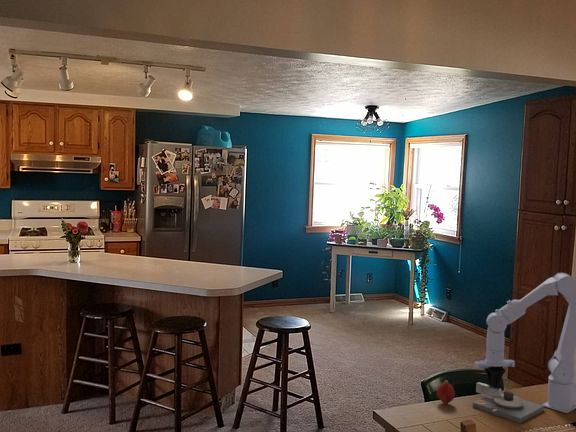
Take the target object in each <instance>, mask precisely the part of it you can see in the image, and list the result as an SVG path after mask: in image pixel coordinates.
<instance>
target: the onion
mask: <svg viewBox="0 0 576 432" xmlns="http://www.w3.org/2000/svg"><path fill="white" fill-rule="evenodd" d="M436 396H437V398H438V400H440V401H441V402H442V403H443V404H444V405H448V404H450V402H452V401H453V400H454V399H455V397H456V391H455V389H454V387H453V385H451V383H449V381H448V380H446V379H445V380H444V382H442V383H441V384H439V385H438V387H437V389H436Z"/></svg>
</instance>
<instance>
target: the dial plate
mask: <svg viewBox="0 0 576 432" xmlns="http://www.w3.org/2000/svg"><path fill="white" fill-rule="evenodd" d="M501 394H504V392H501ZM521 399H522V398H521ZM522 400H523V407H522V408H520V409H508V408H504V407H500V406H498V405H496V404H495V403H494V397H490V396H487V395H485V397H484V396H483V397H482V398H479V399H478V400H475V401H473V402H472V408H474V409H477V410H480V411H483V412H486V413H489V414H492V415H495V416H498V417H501V418H505V419H507V420H508V421H512V422H515V423H519V424H521V423H523V422H525V421H527V420H529V419H530V418H532V417H534V416H536V415H539V414H540V413H542V412H544V411H545V406H543V405H542V404H540V403H536V402H532V401H529V400H525V399H522Z"/></svg>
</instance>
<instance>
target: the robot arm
mask: <svg viewBox="0 0 576 432" xmlns="http://www.w3.org/2000/svg"><path fill="white" fill-rule="evenodd" d="M559 293H560V294H561V295H563V296H562V297H563V298H564V299H565V300H566V301H567V303H568V307H567V310H566V315H565V318H564V322H563V326H562V329H561V333H560V337H559V340H558V345H557V349H556V350H555V351H554V353H553V355H552V357H551V358H550V360H549V361H548V364H547V367H548V370H549V371H550V374H549V376H548V381H547V382H548V383H547V386H548V387H547V401H546V402H544V403H543V404H541V405H543V406H544V408H548V409H551V410H555V411H558V412H562V413H564V414H569V413H570V412H572V411H575V409H576V383H575V381H574V379H575V375H576V373H575V370H574V367H575V353H576V352H575V351H576V278H574V277H573V276H571V275H570V274H568V273H566V272H557V273H556V274H554V276H553V277H551V276H550V277H549V278H547V279H546V280H545V281H543V282H542V283H540V285H538V286H537V287H535V288H534V289H533V290H531V291H530V292H529V293H527V294H526V295H524V297H522V298H521V299H512V300H510V299H508V301H506V303H507V304H505V305H503V306H501V307H500V308H499V309H498V308H497V309H495V310H494V312H491V313H489V314H488V315H487V318H486V319H485V322H486V325H487V330H486V341H485V342H486V344H485V346H486V347H485V348H486V349H485V351H486V352H485V359H483V360H479V361H474V362H473V368H474V369H477V370H481V369H483V370H484V371H485V374H486V376H487V378H488V383H489V385H490V386H494V387H497V388H499V385H500V381H501V379H502V377H503V376H504V374H505V373H506V369H505V367H512V368H515V367H516V361H515V360H513V359H505V340H506V339H505V337H506V336H505V331H506V329H507V327H508V325H511V324H512V323H513V322H515V321H516V320H518V319H519V318H521V317H522V316H524V315H525V314H526V310H527V308H529V307H530V306H533V305H534V304H535V303H537V302H538V301H540V300H542V299H543V298H546V297H547V296H559Z"/></svg>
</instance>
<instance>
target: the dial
mask: <svg viewBox="0 0 576 432" xmlns="http://www.w3.org/2000/svg"><path fill="white" fill-rule="evenodd" d="M475 384H476V386H475V392H476V393H477V394H481V395H484V396H490V397H494V403H495V404H496V405H498V406H500V407H504V408H508V409H520V408H522V407H523V400H524V399H523V400H522V398H521V397H519V396H517V395H514V392H512V391H508V390H507V391H506V390H505V391H503V393H504V394H501V393H502V388H500V387H498V388H497V387H494V386H490V384H486V383H484V382H483V383H482V382H480V381H479V382H476V383H475Z"/></svg>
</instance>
